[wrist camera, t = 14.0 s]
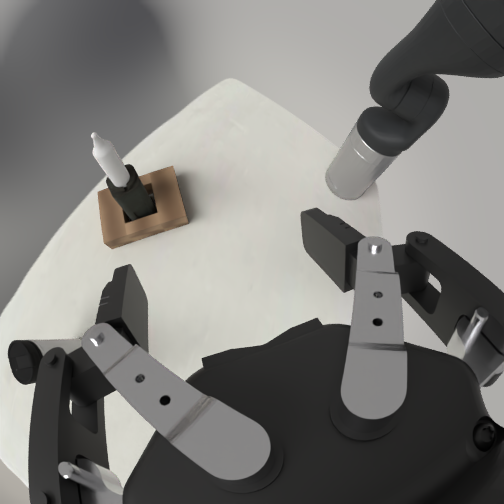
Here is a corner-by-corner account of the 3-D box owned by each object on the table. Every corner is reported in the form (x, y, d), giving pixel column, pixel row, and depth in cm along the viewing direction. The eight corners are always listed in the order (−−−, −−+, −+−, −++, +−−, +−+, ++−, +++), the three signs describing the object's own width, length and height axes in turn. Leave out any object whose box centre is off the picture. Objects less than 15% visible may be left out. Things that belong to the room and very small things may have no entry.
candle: (149, 195, 52) (105, 111, 28) (160, 215, 51) (116, 134, 27) (127, 209, 51) (72, 133, 26) (137, 229, 50) (80, 157, 26)
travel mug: (100, 366, 42) (39, 383, 23) (75, 372, 41) (10, 387, 22) (91, 335, 44) (26, 335, 24) (66, 342, 43) (-1, 343, 23)
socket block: (176, 176, 53) (172, 165, 49) (188, 223, 51) (185, 215, 47) (105, 200, 51) (97, 192, 47) (112, 249, 48) (103, 243, 44)
